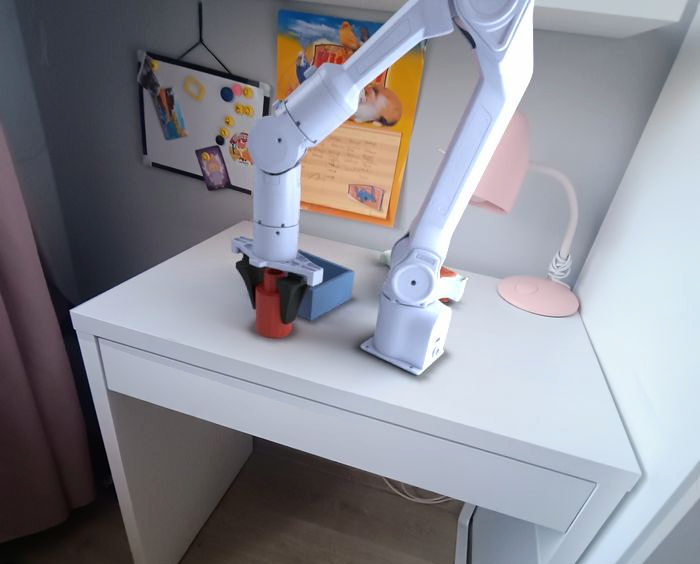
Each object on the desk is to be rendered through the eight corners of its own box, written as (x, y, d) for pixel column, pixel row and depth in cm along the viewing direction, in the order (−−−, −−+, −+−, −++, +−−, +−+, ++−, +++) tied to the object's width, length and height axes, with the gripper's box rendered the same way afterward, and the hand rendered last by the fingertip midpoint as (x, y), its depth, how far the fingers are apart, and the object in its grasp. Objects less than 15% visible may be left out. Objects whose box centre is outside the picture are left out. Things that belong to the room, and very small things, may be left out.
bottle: (298, 329, 69) (302, 272, 64) (274, 342, 65) (276, 283, 60) (272, 316, 71) (274, 260, 66) (248, 328, 67) (247, 270, 62)
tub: (351, 298, 79) (354, 270, 76) (310, 321, 71) (313, 290, 68) (297, 276, 84) (299, 249, 81) (254, 294, 76) (254, 265, 73)
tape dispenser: (382, 266, 96) (352, 300, 79) (385, 241, 93) (354, 270, 76) (469, 282, 91) (457, 321, 74) (474, 256, 89) (463, 290, 72)
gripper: (212, 210, 59) (216, 305, 67) (299, 244, 53) (294, 344, 60) (252, 201, 64) (252, 290, 72) (336, 231, 58) (327, 325, 66)
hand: (273, 314), depth 66 cm, fingers closed on bottle, 5 cm apart
